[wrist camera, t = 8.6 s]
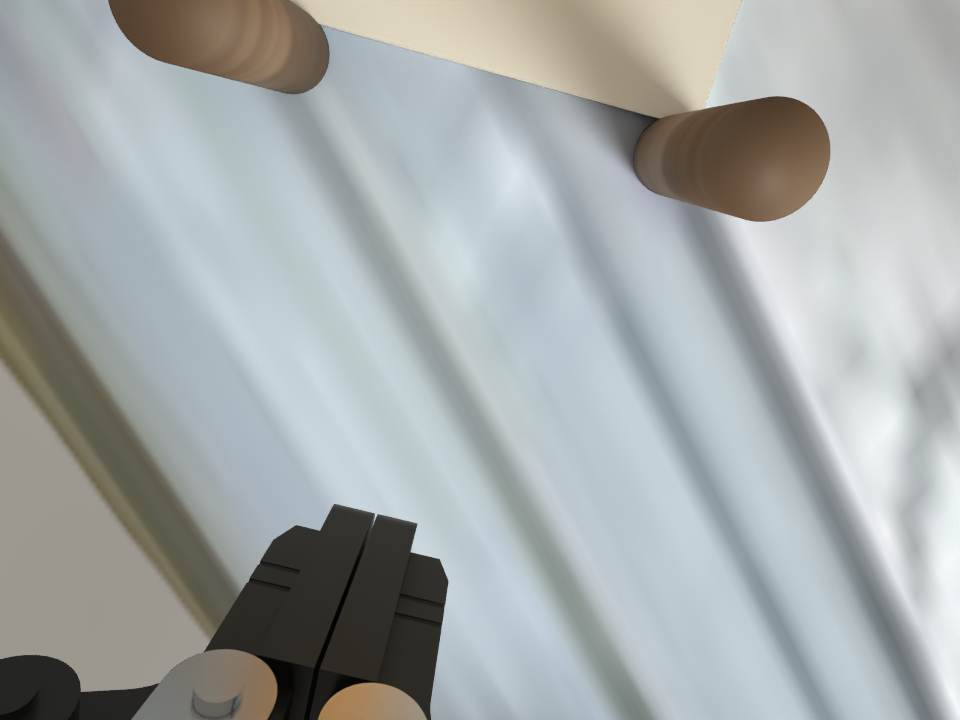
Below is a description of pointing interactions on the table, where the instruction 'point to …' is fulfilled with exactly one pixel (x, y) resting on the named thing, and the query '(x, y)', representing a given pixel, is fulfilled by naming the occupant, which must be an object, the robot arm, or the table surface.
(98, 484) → the table surface
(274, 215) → the table surface
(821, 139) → the post
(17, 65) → the table surface
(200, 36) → the post
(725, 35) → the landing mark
